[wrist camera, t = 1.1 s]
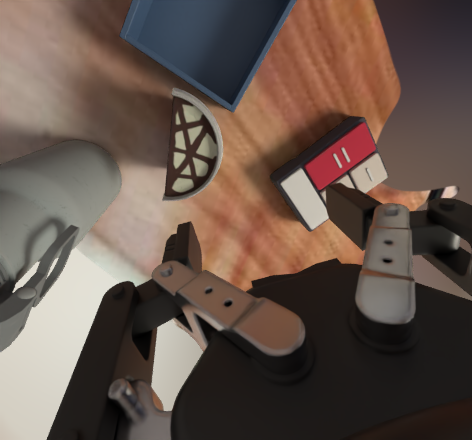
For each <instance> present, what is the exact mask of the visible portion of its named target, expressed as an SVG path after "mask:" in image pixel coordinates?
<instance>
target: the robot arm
mask: <svg viewBox="0 0 472 440" xmlns="http://www.w3.org/2000/svg"><path fill="white" fill-rule="evenodd" d="M326 208H327V214H328V217H329V219H330V220H331V221H332V222H333V223H334V224H335V225H336V226H337V227H338V228H339V229H340V230H341V231H342V232H343V233H345V234H346V235H347V236H348V237H349V238H350V239H351V240H352V241H353V242H354V243H355V244H356V245H357V246H358V247H359V248H360V249H361V250H362V251H363V250H365V255H364V260H363V265H358V264H341V263H340V261H339V260H338V259H337V258H336V259H332V260H328V261H325V262H321V263H317V264H315V265H313V266H310V267H308V268H306V269H304V270H302V271H300V272H298V273H295V274H285V275H273V276H269V277H265V278H261V279H258V280H254V281H251V282H252V286H253V288H251V289H249V290H247V291H246V292H245V291H243V290H241V289H239V288H238V287H236V286H234V285H232V284H231V283H229V282H227V281H225V280H223V279H222V278H220V277H218V276H216V275H214V274H213V273H211V272H209V271H207V270H203V271H202V254H201V248H200V244H199V242H198V239H197V236H196V233H195V230H194V227H193V225H192V223H191V221H190V222H187V223H183V224H179V225H178V228H177V234H173V235H171V236H170V237H169V239H168V240H167V242H166V247H165V252H164V255H163V260H162V264H161V265H159V266H158V267H156V268H155V269H154V271H153V272H152V279H151V280H149V281H147V282H145V283H143V284H141V285H139V286H137V287H135V285H134V283H133V282H130V281H126V282H121V283H119V284H117V285H115V286H113V287H112V288H110V289H109V290H108V291H107V292H106V293H105V295H104V296H103V298H102V301H101V304H100V306H99V309H98V311H97V314H96V316H95V319H94V321H93V324H92V326H91V329H90V331H89V334H88V336H87V339H86V342H85V344H84V346H83V349H82V351H81V354H80V357H79V359H78V362H77V364H76V367H75V369H74V372H73V374H72V377H71V379H70V382H69V385H68V387H67V389H66V392H65V394H64V397H63V400H62V402H61V404H60V407H59V410H58V412H57V415H56V417H55V420H54V422H53V425H52V427H51V430H50V432H49V435H48V437H47V440H472V301H471V300H468V299H465V298H462V297H458V296H455V295H453V294H449V293H446V292H443V291H440V290H437V289H434V288H431V287H428V286H425V285H422V284H419V283H416V282H415V281H414V279H413V261H412V260H413V259H412V255H422V256H423V257H424V258H425V259H426V260H427V261H429V262H430V263H431V264H432V265H434V266H435V267H436V268H437V269H438V270H440V271H441V272H442V273H443V274H445V275H446V276H447V277H449V278H450V279H451V280H452V281H453V282H454V283H456V284H457V285H458V286H459V287H461V288H462V289H463V290H464V291H466V292H467V293H468V294H469V295H471V296H472V254H470V253H469V252H467V251H466V250H464V249H462V248H461V247H459V244H460V239H461V238H463V239H464V240H466V241H467V242H468V243H469V244H470V246H471V248H472V205H469V204H467V203H465V202H463V201H460V200H456V199H451V198H439V199H434V200H431V201H430V202H429V203H428V206H427V210H423V211H410V212H409V209H408V208H407V207H406V206H404V205H401V204H395V203H386V204H382V203H380V202H379V201H377V200H375V199H374V198H372V197H370V196H369V195H367V194H365V193H364V192H362V191H360V190H358V189H354V188H349V187H347V186H345V185H344V184H342V183H340V182H339V183H335V184H331V185H327V186H326ZM171 319H173V320H174V321H175V322H176V323H177V324H178V325H179V326H180V327H182V328H183V329H184V330H185V331H186V332H187V333H188V334H189V335H190V336H191V337H192V338H193V339H194V340H195V341H196V342H197V343H198V345H199V346H200V347H201V349H202V350H203V354H202V355H201V357H200V359H199V360H198V362H197V363H196V365H195V366H194V368H193V370H192V371H191V373H190V375H189V376H188V378H187V379H186V381H185V383H184V384H183V386H182V388H181V389H180V391H179V393H178V395H177V397H176V400H175V403H174V406H173V409H172V411H164V410H163V404H162V402H161V400H160V399H159V397H158V396H157V394H156V393H155V392H154V390H153V389H152V387H151V383H152V373H153V364H154V355H155V345H156V335H157V327H158V326H160V325H162V324H164V323H166V322H168V321H169V320H171Z"/></svg>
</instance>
